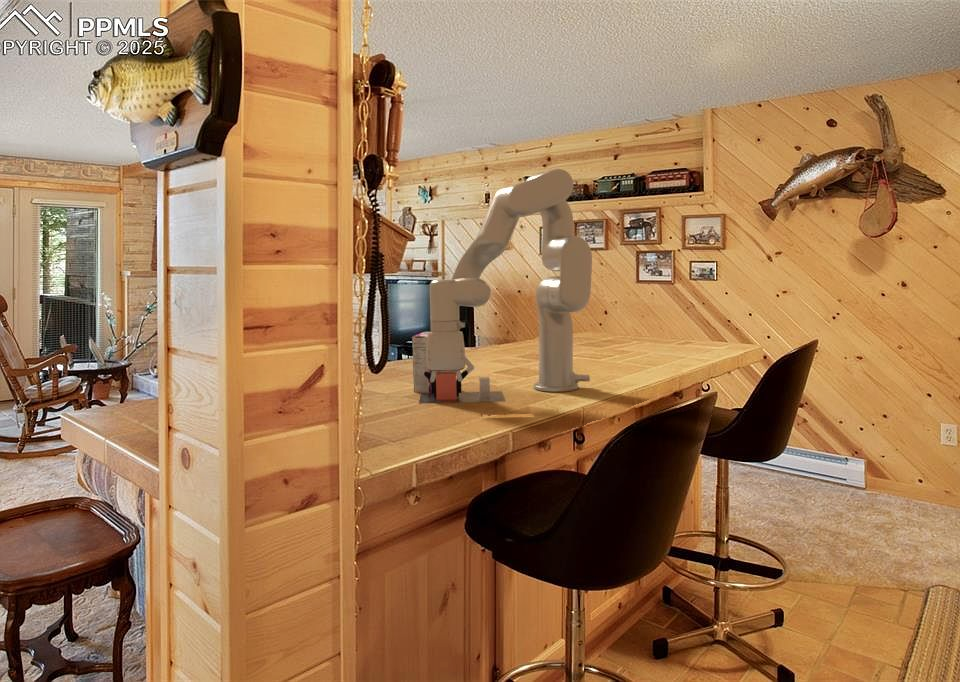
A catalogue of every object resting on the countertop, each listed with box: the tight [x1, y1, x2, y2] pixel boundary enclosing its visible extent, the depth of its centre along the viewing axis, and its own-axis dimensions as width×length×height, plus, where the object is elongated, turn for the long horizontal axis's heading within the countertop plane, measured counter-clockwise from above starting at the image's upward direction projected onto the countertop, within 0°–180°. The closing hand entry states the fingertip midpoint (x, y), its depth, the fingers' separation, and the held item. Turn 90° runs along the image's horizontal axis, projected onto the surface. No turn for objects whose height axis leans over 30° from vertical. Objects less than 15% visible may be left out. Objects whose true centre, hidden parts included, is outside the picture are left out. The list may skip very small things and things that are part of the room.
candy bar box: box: [411, 331, 436, 394], centre depth 183 cm, size 11×5×16 cm, turn 168°
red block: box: [436, 371, 457, 400], centre depth 170 cm, size 5×5×7 cm
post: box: [418, 376, 506, 405], centre depth 171 cm, size 22×13×6 cm, turn 93°
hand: (446, 395), depth 171 cm, fingers closed on red block, 5 cm apart
